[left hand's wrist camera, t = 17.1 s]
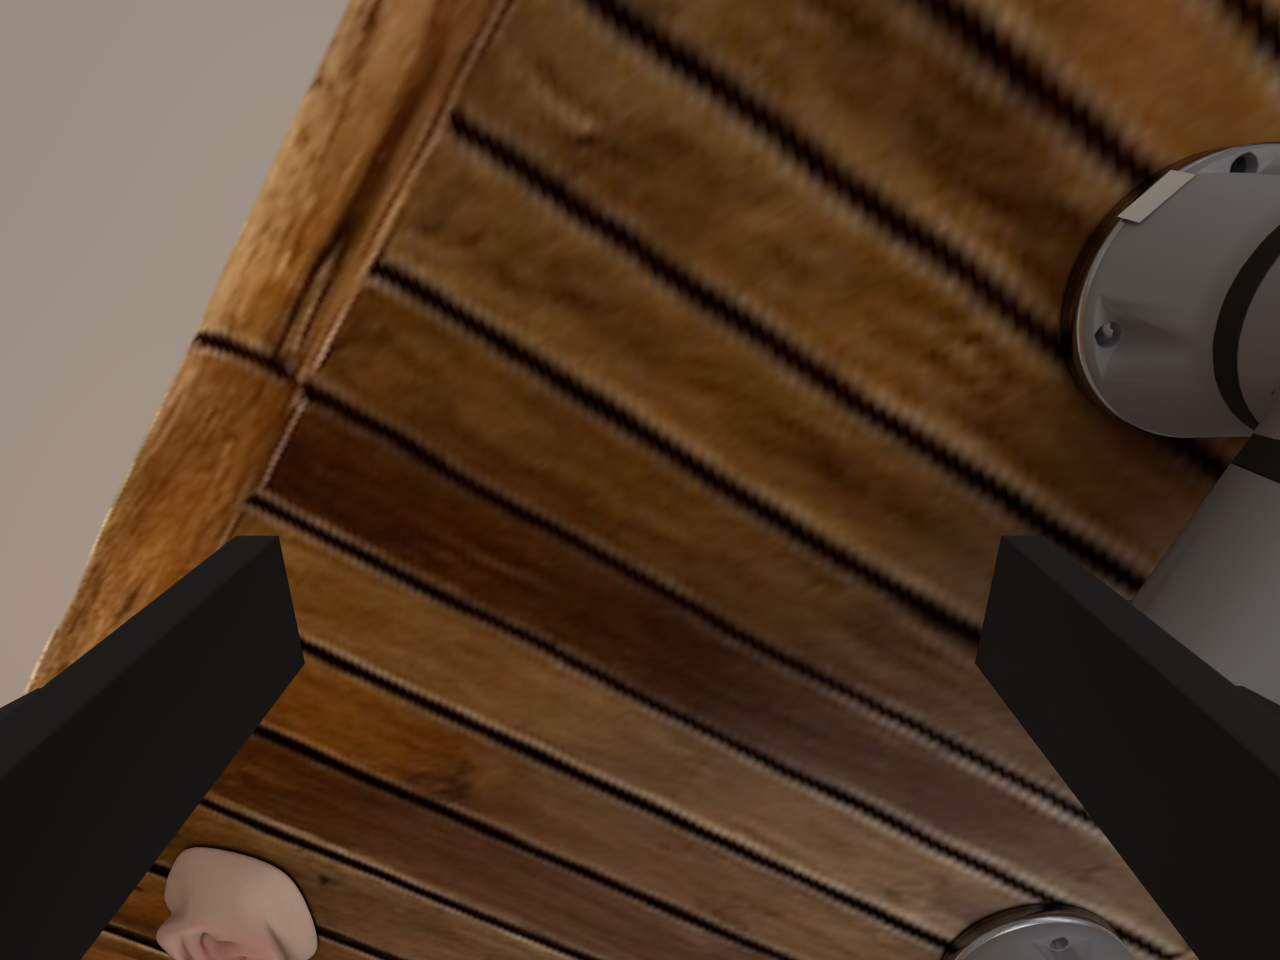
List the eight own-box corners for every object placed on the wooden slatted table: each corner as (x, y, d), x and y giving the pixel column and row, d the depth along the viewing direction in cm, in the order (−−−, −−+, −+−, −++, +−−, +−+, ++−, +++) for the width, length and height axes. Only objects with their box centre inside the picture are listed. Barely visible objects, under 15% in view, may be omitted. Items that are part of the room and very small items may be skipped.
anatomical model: (115, 891, 49) (277, 897, 49) (152, 843, 53) (303, 849, 53) (152, 1013, 54) (300, 1018, 54) (184, 961, 57) (322, 966, 58)
